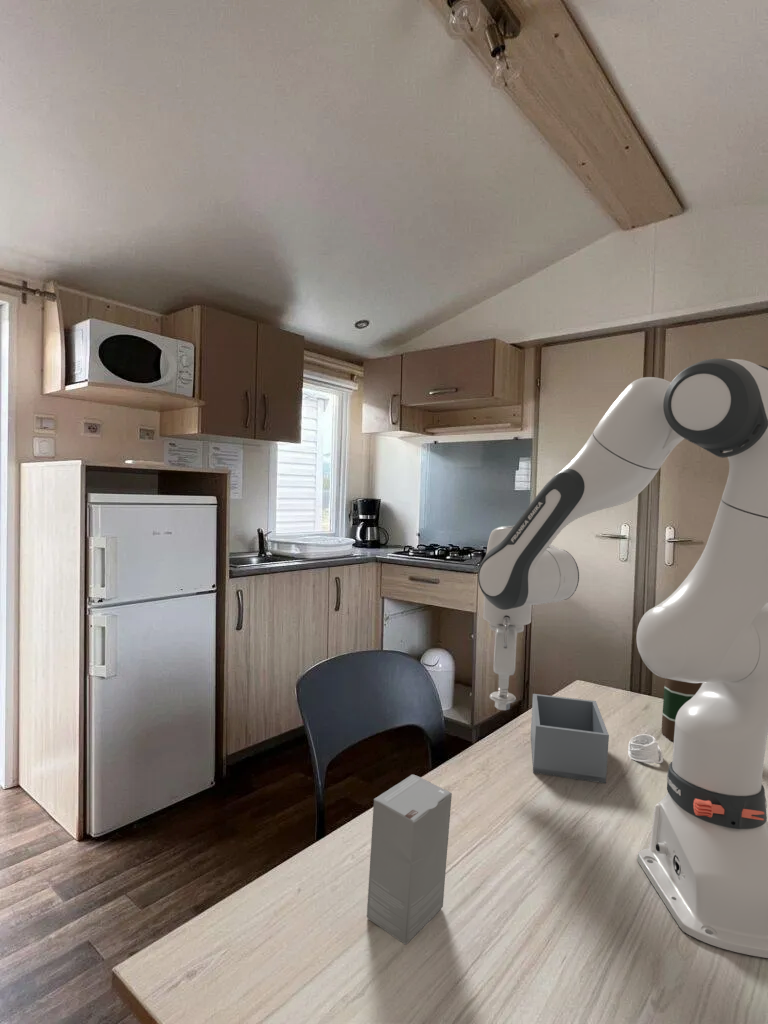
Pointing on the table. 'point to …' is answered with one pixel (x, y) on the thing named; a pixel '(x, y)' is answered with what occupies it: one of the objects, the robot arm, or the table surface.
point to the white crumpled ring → (645, 749)
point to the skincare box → (408, 856)
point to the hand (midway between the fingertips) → (503, 684)
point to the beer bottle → (675, 703)
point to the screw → (502, 698)
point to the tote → (568, 738)
